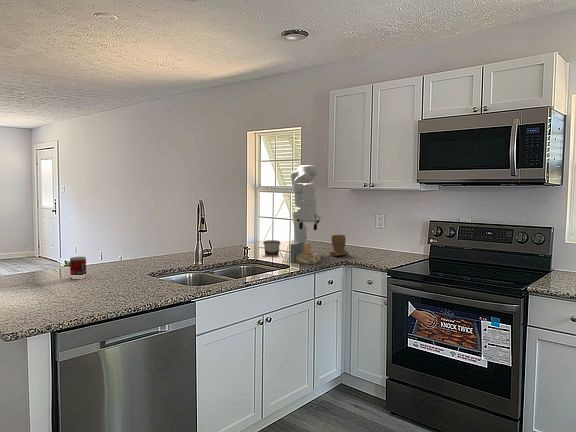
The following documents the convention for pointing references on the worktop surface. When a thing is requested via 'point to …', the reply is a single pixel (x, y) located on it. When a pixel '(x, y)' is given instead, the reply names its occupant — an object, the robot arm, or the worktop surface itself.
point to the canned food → (77, 265)
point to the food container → (271, 247)
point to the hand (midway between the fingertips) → (308, 229)
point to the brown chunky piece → (338, 245)
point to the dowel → (307, 249)
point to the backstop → (295, 251)
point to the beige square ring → (308, 258)
